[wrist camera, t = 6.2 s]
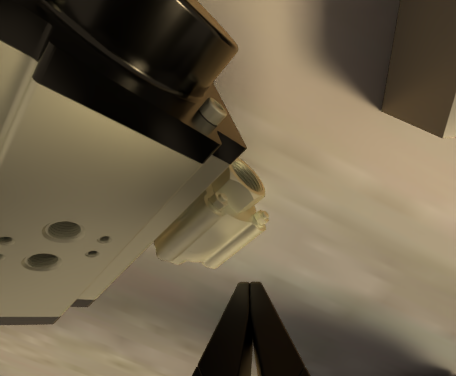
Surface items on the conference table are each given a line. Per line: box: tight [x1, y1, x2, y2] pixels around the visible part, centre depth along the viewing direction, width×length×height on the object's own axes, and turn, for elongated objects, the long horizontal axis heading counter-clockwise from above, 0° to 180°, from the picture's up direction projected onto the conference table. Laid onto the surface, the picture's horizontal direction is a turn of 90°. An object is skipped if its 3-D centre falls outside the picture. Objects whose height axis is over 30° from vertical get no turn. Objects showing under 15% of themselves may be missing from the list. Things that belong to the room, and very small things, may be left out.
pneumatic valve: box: [0, 0, 269, 325], centre depth 9 cm, size 6×12×12 cm
